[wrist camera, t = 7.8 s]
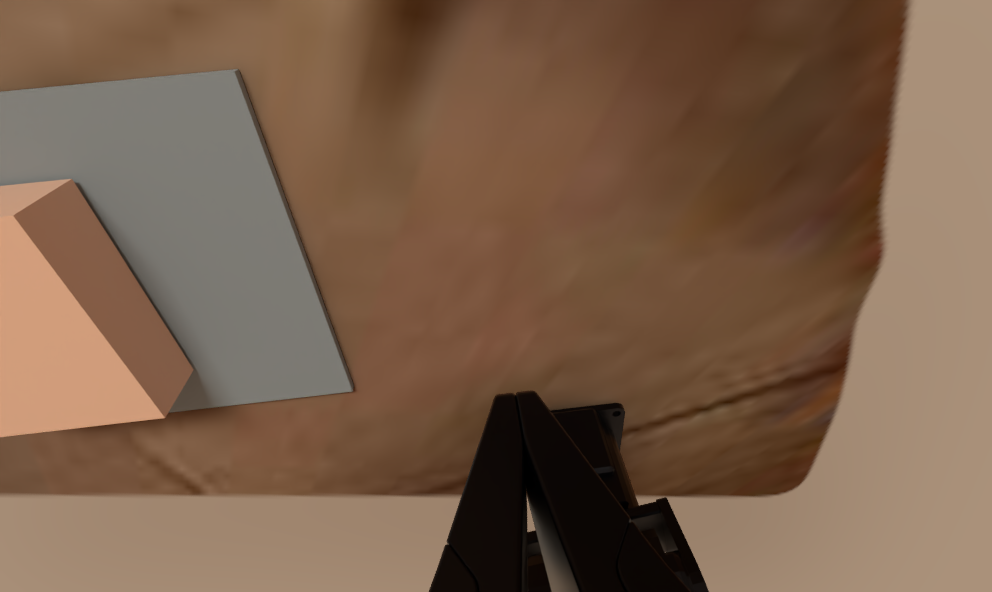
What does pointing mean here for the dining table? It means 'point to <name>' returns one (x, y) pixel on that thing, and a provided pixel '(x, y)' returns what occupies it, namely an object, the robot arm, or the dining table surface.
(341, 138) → the dining table surface
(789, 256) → the dining table surface
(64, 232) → the tile
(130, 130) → the mat
